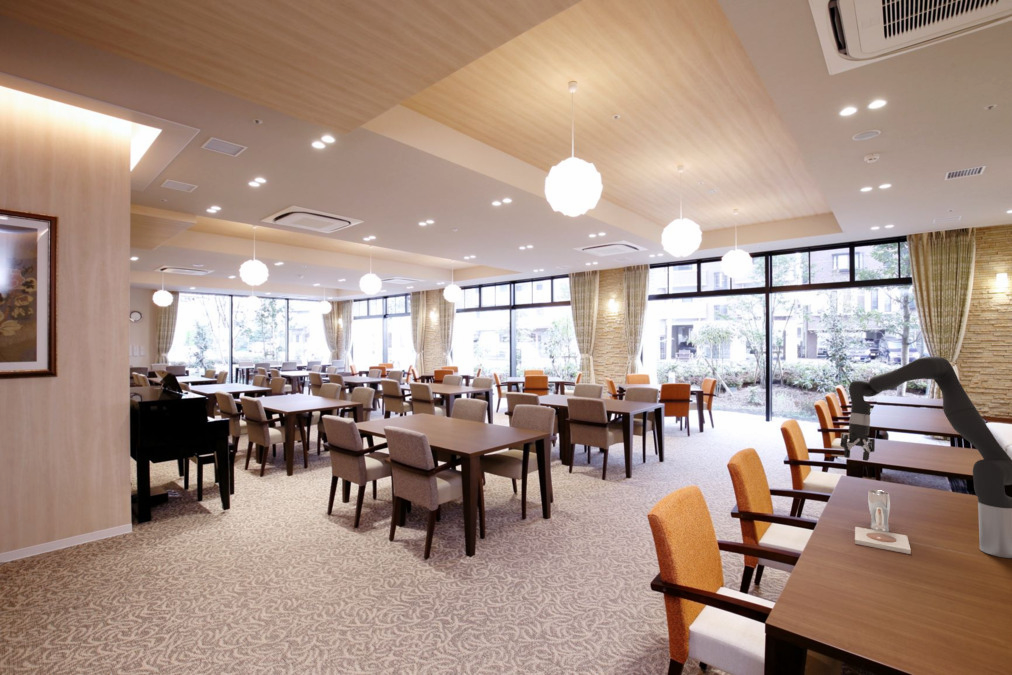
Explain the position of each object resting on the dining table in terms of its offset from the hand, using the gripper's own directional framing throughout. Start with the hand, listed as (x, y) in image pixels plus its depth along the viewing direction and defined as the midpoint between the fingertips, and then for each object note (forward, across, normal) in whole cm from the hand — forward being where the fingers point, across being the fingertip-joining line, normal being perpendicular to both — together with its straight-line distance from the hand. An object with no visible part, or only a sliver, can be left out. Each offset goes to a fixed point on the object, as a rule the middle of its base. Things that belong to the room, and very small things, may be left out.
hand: (856, 459), depth 217 cm
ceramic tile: (+27, -15, -36) cm, 47 cm away
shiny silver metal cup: (+25, -6, -24) cm, 35 cm away
